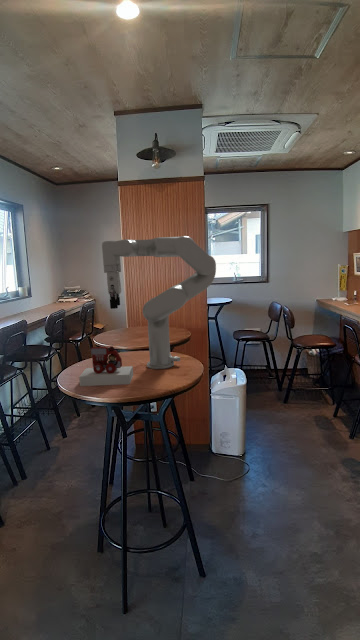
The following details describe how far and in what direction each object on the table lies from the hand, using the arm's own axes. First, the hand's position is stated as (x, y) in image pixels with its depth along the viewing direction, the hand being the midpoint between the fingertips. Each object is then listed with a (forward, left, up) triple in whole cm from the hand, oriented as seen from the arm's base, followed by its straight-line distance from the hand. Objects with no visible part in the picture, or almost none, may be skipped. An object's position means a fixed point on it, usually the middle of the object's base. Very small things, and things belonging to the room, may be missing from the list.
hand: (115, 306), depth 168 cm
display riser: (+2, +20, -28) cm, 34 cm away
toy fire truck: (+2, +20, -24) cm, 31 cm away
